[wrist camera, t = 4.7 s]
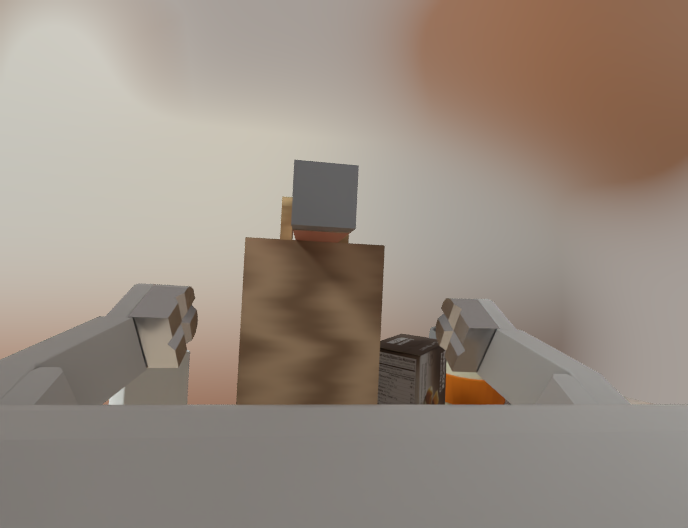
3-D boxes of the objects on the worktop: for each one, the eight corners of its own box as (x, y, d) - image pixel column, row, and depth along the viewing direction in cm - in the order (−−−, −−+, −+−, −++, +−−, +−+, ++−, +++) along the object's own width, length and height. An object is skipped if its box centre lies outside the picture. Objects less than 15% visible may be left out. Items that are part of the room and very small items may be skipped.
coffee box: (396, 451, 42) (401, 332, 42) (443, 471, 38) (449, 340, 39) (360, 489, 34) (367, 343, 35) (415, 518, 31) (422, 354, 31)
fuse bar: (291, 224, 14) (294, 159, 14) (298, 249, 32) (300, 220, 32) (355, 228, 15) (358, 165, 15) (327, 250, 32) (329, 222, 33)
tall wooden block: (224, 616, 21) (248, 175, 22) (250, 505, 31) (266, 204, 32) (368, 604, 22) (387, 186, 23) (348, 501, 32) (362, 211, 33)
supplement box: (186, 448, 40) (192, 350, 41) (116, 473, 35) (123, 360, 35) (167, 426, 45) (173, 339, 46) (104, 445, 40) (111, 347, 40)
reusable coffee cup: (529, 443, 45) (532, 341, 46) (454, 453, 42) (459, 342, 42) (472, 406, 58) (475, 325, 58) (411, 411, 54) (414, 325, 55)
